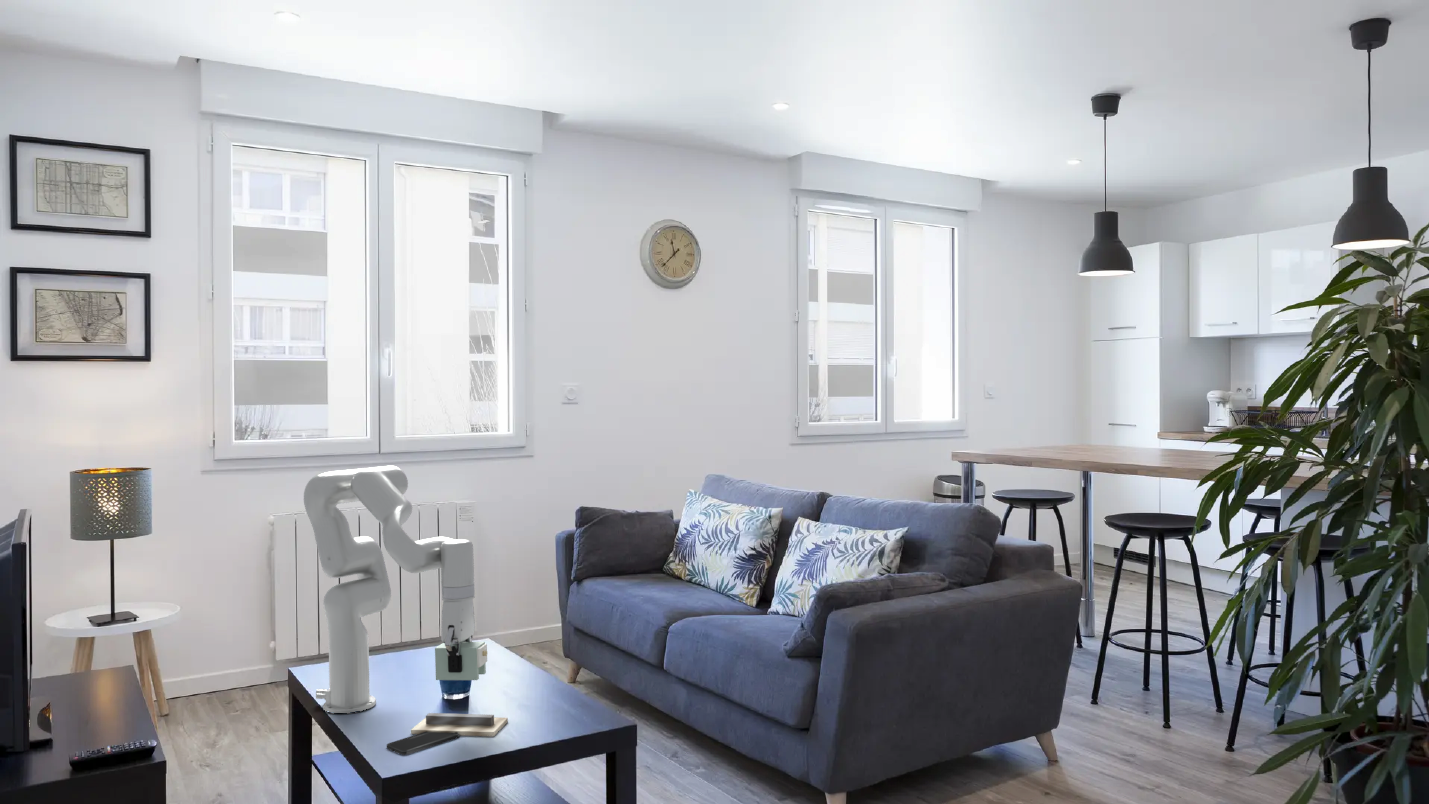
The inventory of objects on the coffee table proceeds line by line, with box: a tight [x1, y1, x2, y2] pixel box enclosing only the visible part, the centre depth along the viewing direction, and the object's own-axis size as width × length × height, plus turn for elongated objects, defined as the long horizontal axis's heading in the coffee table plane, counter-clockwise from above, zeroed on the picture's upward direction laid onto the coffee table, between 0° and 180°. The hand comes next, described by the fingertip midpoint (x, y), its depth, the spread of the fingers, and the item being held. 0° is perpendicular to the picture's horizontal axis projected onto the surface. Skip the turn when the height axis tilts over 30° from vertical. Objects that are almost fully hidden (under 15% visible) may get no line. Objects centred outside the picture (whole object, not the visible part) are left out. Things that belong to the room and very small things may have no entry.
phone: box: [386, 731, 460, 756], centre depth 227 cm, size 8×1×15 cm
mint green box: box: [434, 641, 488, 681], centre depth 236 cm, size 11×6×8 cm, turn 84°
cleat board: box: [410, 712, 509, 737], centre depth 237 cm, size 20×10×3 cm, turn 83°
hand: (460, 667), depth 236 cm, fingers closed on mint green box, 6 cm apart
